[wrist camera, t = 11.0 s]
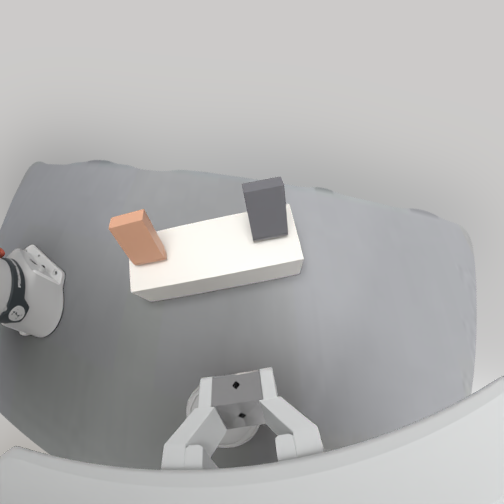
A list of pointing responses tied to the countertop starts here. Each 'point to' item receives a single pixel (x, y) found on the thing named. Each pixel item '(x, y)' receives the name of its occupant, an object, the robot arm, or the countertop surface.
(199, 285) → the switch box
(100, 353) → the countertop surface
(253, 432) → the disposable coffee cup
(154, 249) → the rocker terracotta
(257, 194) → the rocker charcoal
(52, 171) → the countertop surface
